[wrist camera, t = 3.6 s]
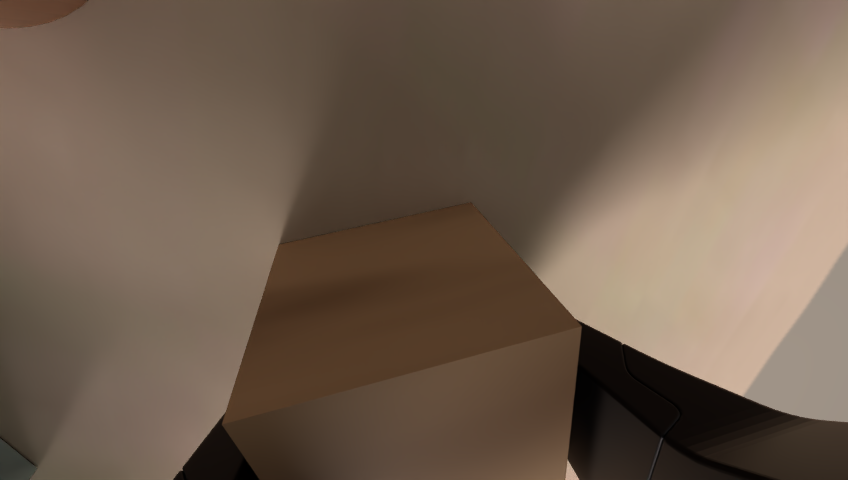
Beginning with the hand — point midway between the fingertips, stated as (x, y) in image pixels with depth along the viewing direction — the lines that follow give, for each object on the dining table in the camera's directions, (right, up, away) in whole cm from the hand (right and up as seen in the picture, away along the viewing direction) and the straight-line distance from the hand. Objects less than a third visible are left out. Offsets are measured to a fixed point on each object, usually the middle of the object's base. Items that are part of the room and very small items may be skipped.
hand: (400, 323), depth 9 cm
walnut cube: (0, 0, +1) cm, 1 cm away
